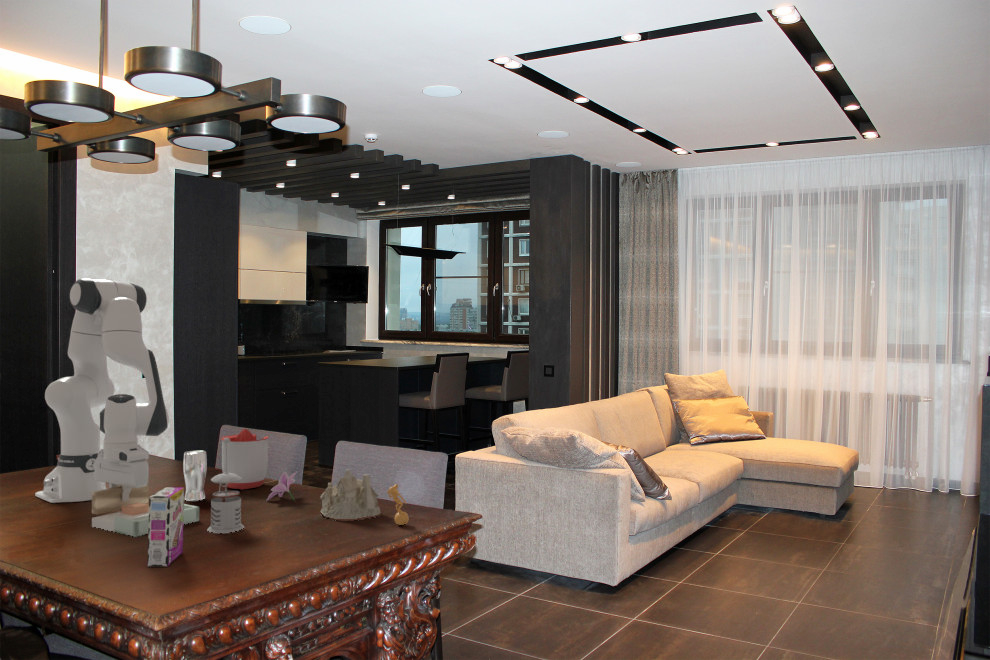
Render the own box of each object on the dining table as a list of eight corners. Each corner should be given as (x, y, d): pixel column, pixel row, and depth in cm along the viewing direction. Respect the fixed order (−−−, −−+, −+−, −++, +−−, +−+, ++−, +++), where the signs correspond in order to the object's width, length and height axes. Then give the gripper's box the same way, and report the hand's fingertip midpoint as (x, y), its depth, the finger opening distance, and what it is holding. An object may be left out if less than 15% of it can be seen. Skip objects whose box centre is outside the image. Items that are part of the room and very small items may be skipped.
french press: (209, 535, 205) (210, 441, 205) (203, 524, 216) (204, 435, 215) (247, 530, 210) (248, 439, 210) (240, 520, 220) (241, 433, 220)
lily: (301, 498, 254) (287, 472, 254) (314, 490, 245) (301, 463, 246) (269, 515, 246) (255, 488, 246) (282, 507, 237) (268, 480, 238)
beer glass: (198, 502, 242) (198, 454, 242) (178, 501, 243) (178, 453, 243) (210, 497, 249) (211, 451, 248) (191, 496, 250) (191, 450, 250)
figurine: (415, 527, 215) (416, 484, 215) (397, 531, 211) (397, 487, 211) (399, 521, 222) (400, 479, 222) (381, 524, 218) (381, 482, 218)
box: (114, 532, 207) (114, 517, 207) (178, 516, 224) (178, 502, 224) (135, 537, 202) (135, 522, 202) (199, 520, 220) (199, 506, 220)
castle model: (386, 516, 227) (383, 465, 227) (333, 525, 218) (330, 472, 219) (365, 508, 240) (363, 460, 241) (314, 517, 231) (312, 467, 232)
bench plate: (91, 526, 212) (91, 517, 212) (155, 511, 229) (156, 503, 229) (114, 532, 207) (114, 523, 207) (178, 516, 224) (178, 507, 224)
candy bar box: (169, 567, 178) (169, 496, 178) (146, 567, 178) (147, 496, 178) (184, 552, 190) (185, 486, 189) (163, 553, 189) (164, 486, 189)
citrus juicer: (281, 484, 269) (282, 427, 269) (241, 493, 255) (241, 433, 255) (251, 479, 278) (252, 423, 278) (210, 487, 263) (211, 429, 263)
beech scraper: (91, 513, 215) (91, 492, 215) (142, 501, 229) (142, 481, 229) (97, 514, 214) (97, 493, 214) (148, 502, 228) (148, 482, 228)
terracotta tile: (121, 513, 217) (121, 506, 217) (137, 509, 222) (137, 502, 222) (132, 515, 215) (132, 508, 215) (148, 511, 219) (148, 504, 219)
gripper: (88, 449, 224) (88, 497, 224) (132, 456, 214) (132, 506, 214) (108, 446, 229) (108, 493, 229) (153, 453, 219) (152, 501, 219)
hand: (120, 499), depth 222 cm, fingers closed on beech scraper, 2 cm apart
